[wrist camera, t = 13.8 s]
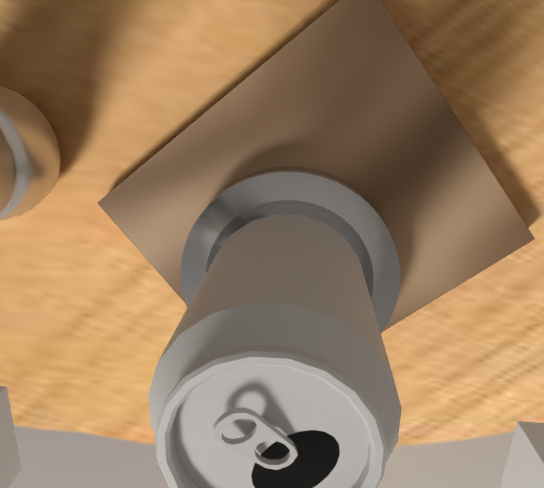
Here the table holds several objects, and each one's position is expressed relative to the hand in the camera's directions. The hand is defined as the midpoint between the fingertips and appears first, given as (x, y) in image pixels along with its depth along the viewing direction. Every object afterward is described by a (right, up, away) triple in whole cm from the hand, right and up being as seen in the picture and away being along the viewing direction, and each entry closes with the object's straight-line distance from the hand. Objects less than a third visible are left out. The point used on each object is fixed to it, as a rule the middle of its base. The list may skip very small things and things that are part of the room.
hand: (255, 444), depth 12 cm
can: (+1, +3, +12) cm, 12 cm away
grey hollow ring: (+1, +4, +13) cm, 14 cm away
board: (+3, +7, +13) cm, 15 cm away
